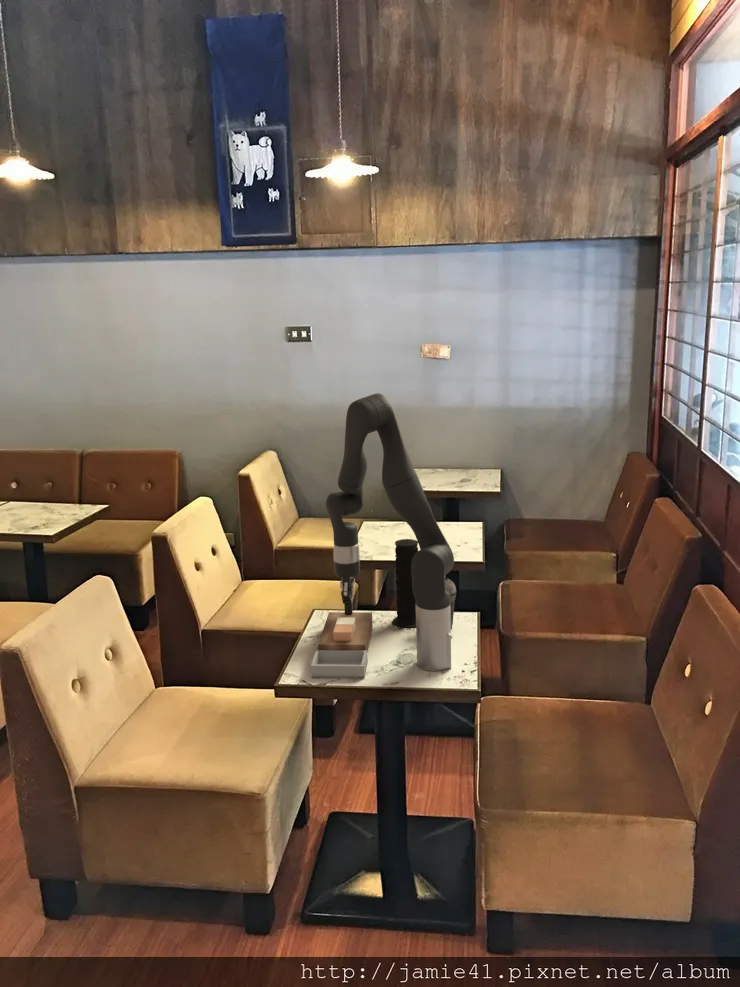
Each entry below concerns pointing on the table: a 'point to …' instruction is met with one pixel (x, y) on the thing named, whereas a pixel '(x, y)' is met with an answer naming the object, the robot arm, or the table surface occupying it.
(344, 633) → the terracotta tile
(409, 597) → the handle grip
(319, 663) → the box
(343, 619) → the cream tile
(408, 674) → the table surface
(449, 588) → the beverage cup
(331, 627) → the walnut platform
